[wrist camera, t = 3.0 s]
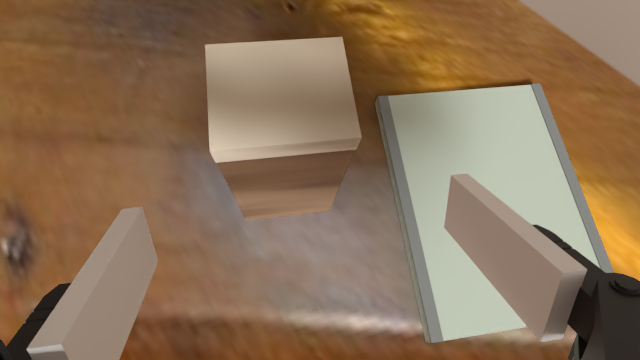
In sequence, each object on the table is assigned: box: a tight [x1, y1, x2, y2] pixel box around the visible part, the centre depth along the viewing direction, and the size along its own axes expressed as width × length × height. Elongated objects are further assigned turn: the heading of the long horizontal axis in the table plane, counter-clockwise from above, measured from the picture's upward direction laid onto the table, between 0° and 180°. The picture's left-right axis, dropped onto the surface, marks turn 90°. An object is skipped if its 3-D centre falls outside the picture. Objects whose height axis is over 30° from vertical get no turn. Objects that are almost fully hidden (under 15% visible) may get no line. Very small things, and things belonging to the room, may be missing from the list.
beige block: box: [205, 37, 362, 220], centre depth 21 cm, size 5×6×12 cm
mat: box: [375, 83, 614, 343], centre depth 27 cm, size 18×14×1 cm
